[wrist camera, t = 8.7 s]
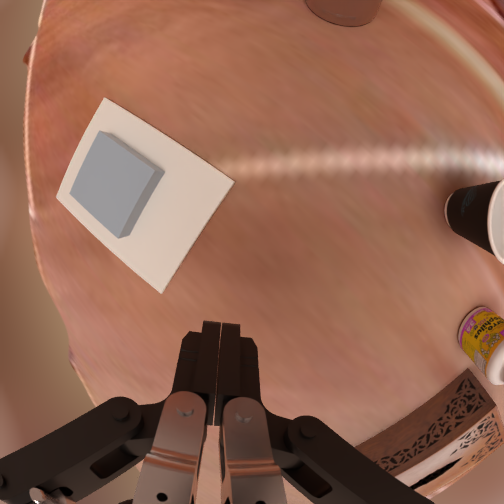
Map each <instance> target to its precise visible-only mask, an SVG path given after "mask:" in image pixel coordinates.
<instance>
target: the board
mask: <svg viewBox="0 0 504 504" xmlns="http://www.w3.org/2000/svg"><path fill="white" fill-rule="evenodd" d="M99 131H103V132H107V133H111V134H113V135H114V136H115V137H117V138H118V139H120V140H121V141H122V142H124V143H125V144H127V145H128V146H130V147H131V148H132V149H134V150H135V151H137V152H138V153H139V154H141V155H142V156H144V157H145V158H146V159H148V160H149V161H151V162H152V163H153V164H155V165H156V166H158V167H159V168H160V169H162V170H163V171H165V173H164V175H163V176H162V178H161V180H160V181H159V183H158V185H157V187H156V188H155V190H154V192H153V193H152V195H151V197H150V199H149V200H148V202H147V204H146V206H145V207H144V209H143V211H142V213H141V215H140V217H139V218H138V220H137V222H136V224H135V226H134V228H133V230H132V232H131V234H130V236H126V237H123V238H119V239H118V238H117V237H116V236H114V235H113V234H112V233H111V232H110V231H109V230H108V229H107V228H105V227H104V226H103V225H102V224H101V223H100V222H99V221H98V220H97V219H96V218H94V217H93V216H92V215H91V214H90V213H89V212H88V211H87V210H86V209H85V208H84V207H83V206H82V205H81V204H80V203H78V202H77V201H76V200H75V199H74V198H73V197H72V196H71V195H70V194H69V193H70V191H71V188H72V186H73V183H74V181H75V179H76V177H77V174H78V172H79V170H80V168H81V166H82V163H83V161H84V159H85V157H86V155H87V153H88V151H89V149H90V147H91V145H92V143H93V141H94V139H95V137H96V136H97V134H98V132H99ZM234 184H235V181H234V180H232V179H231V178H229V177H228V176H226V175H225V174H223V173H222V172H221V171H219V170H218V169H216V168H215V167H213V166H212V165H210V164H209V163H207V162H206V161H205V160H203V159H202V158H200V157H199V156H197V155H196V154H194V153H193V152H191V151H190V150H188V149H187V148H185V147H184V146H182V145H181V144H179V143H178V142H176V141H174V140H173V139H171V138H170V137H168V136H167V135H165V134H164V133H162V132H161V131H159V130H157V129H156V128H154V127H153V126H151V125H150V124H148V123H146V122H145V121H143V120H142V119H140V118H138V117H137V116H135V115H134V114H132V113H130V112H129V111H127V110H125V109H124V108H122V107H120V106H119V105H117V104H115V103H114V102H112V101H110V100H109V99H107V98H104V99H103V101H102V103H101V104H100V106H99V108H98V109H97V111H96V113H95V115H94V116H93V118H92V120H91V122H90V124H89V126H88V127H87V129H86V131H85V133H84V135H83V137H82V139H81V141H80V143H79V145H78V147H77V149H76V151H75V153H74V156H73V158H72V160H71V162H70V164H69V167H68V169H67V171H66V174H65V176H64V178H63V181H62V183H61V186H60V188H59V191H58V194H57V196H56V198H57V199H58V200H59V201H60V202H61V203H62V204H63V205H64V206H65V207H66V208H67V209H68V210H69V211H70V212H71V213H72V214H73V215H74V216H75V217H76V218H77V219H78V220H79V221H80V222H81V223H82V224H83V225H84V226H85V227H86V228H87V229H88V230H89V231H90V232H91V233H92V234H93V235H94V236H95V237H96V238H98V239H99V240H100V241H101V242H102V243H103V244H104V245H105V246H106V247H107V248H108V249H109V250H111V251H112V252H113V253H114V254H115V255H116V256H117V257H118V258H119V259H121V260H122V261H123V262H124V263H125V264H126V265H127V266H129V267H130V268H131V269H132V270H133V271H134V272H136V273H137V274H138V275H139V276H140V277H141V278H143V279H144V280H145V281H146V282H147V283H149V284H150V285H151V286H152V287H153V288H155V289H156V290H157V291H158V292H160V293H161V294H162V293H163V292H164V291H165V289H166V288H167V286H168V284H169V283H170V281H171V279H172V278H173V276H174V275H175V273H176V271H177V270H178V268H179V267H180V265H181V263H182V262H183V260H184V259H185V257H186V256H187V254H188V252H189V251H190V249H191V248H192V246H193V245H194V243H195V242H196V240H197V239H198V237H199V235H200V234H201V232H202V231H203V229H204V228H205V226H206V225H207V223H208V222H209V220H210V219H211V217H212V216H213V214H214V213H215V211H216V210H217V208H218V207H219V206H220V204H221V203H222V201H223V200H224V198H225V197H226V195H227V194H228V192H229V191H230V189H231V188H232V187H233V185H234Z"/></svg>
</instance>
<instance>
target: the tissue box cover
mask: <svg viewBox="0 0 504 504" xmlns="http://www.w3.org/2000/svg"><path fill="white" fill-rule="evenodd" d="M503 443H504V426H503V423H502V420H501V417H500V414H499V411H498V408H497V405H496V404H495V402H494V401H493V400H492V398H491V397H490V396H489V394H488V393H487V392H486V390H485V389H484V388H483V386H482V385H481V384H480V383H479V381H478V380H477V379H476V377H475V376H474V375H473V374H472V372H471V371H470V370H469V369H468V368H467V369H466V370H465V371H464V372H463V373H462V374H461V375H459V376H458V377H457V378H456V379H455V380H454V381H452V382H451V383H450V384H449V385H448V386H446V387H445V388H444V389H443V390H441V391H440V392H439V393H438V394H436V395H435V396H434V397H433V398H431V399H430V400H429V401H427V402H426V403H425V404H423V405H422V406H420V407H419V408H418V409H416V410H415V411H413V412H412V413H410V414H409V415H408V416H406V417H405V418H403V419H402V420H400V421H398V422H397V423H395V424H394V425H392V426H391V427H389V428H387V429H386V430H384V431H382V432H381V433H379V434H377V435H376V436H374V437H372V438H370V439H369V440H367V441H365V442H363V443H361V444H360V445H358V446H356V447H354V448H356V449H357V450H358V451H359V452H361V453H362V454H363V455H365V456H366V457H367V458H369V459H370V460H371V461H373V462H374V463H376V464H377V465H378V466H380V467H381V468H382V469H384V470H385V471H387V472H388V473H390V474H391V475H392V476H394V477H395V478H397V479H398V480H400V481H401V482H403V483H404V484H406V485H407V486H409V487H410V488H412V489H413V490H415V491H416V492H418V493H419V494H421V495H423V496H424V497H425V496H427V495H429V494H431V493H433V492H435V491H436V490H438V489H440V488H441V487H443V486H445V485H446V484H448V483H450V482H451V481H453V480H455V479H456V478H458V477H459V476H461V475H462V474H464V473H465V472H467V471H468V470H469V469H471V468H472V467H474V466H475V465H476V464H478V463H479V462H481V461H482V460H483V459H485V458H486V457H487V456H488V455H490V454H491V453H492V452H493V451H495V450H496V449H497V448H498V447H499V446H501V445H502V444H503Z"/></svg>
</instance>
